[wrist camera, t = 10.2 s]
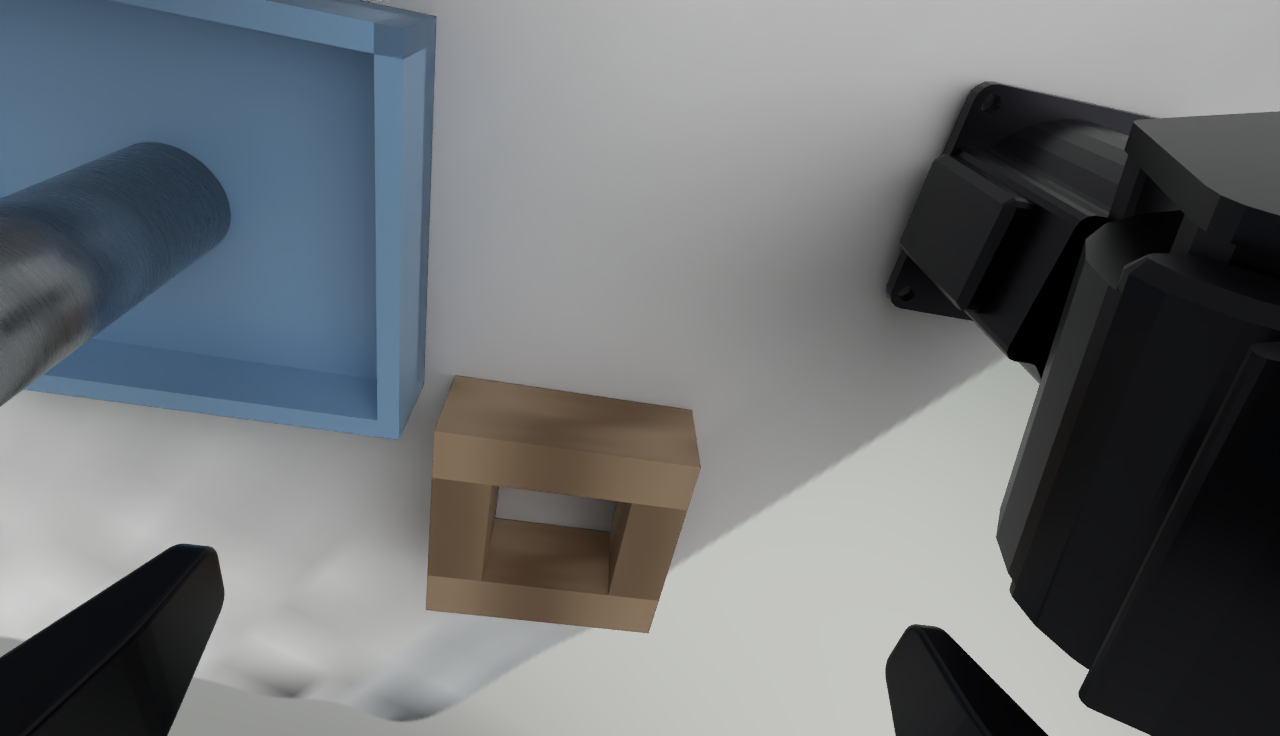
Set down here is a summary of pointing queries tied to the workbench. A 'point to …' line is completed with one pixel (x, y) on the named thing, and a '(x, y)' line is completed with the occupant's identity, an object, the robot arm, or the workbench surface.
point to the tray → (248, 195)
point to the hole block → (563, 464)
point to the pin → (97, 249)
